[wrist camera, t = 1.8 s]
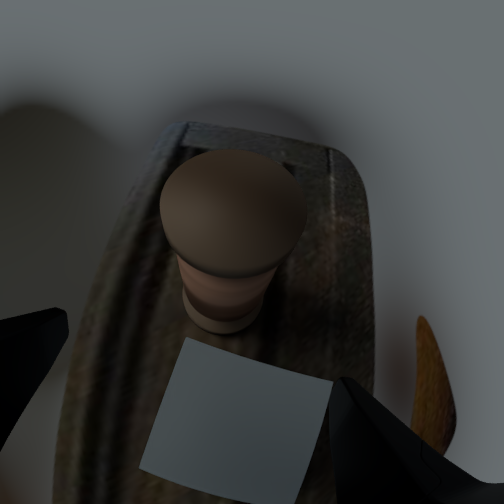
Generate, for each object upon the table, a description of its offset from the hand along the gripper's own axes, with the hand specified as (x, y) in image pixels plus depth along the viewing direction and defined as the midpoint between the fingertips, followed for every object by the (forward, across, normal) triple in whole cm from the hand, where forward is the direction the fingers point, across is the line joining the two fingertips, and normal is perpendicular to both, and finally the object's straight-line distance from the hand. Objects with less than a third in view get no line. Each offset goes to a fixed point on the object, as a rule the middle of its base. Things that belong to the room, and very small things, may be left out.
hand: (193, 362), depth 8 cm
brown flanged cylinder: (+13, 0, +4) cm, 14 cm away
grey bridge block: (+7, -3, +11) cm, 13 cm away
